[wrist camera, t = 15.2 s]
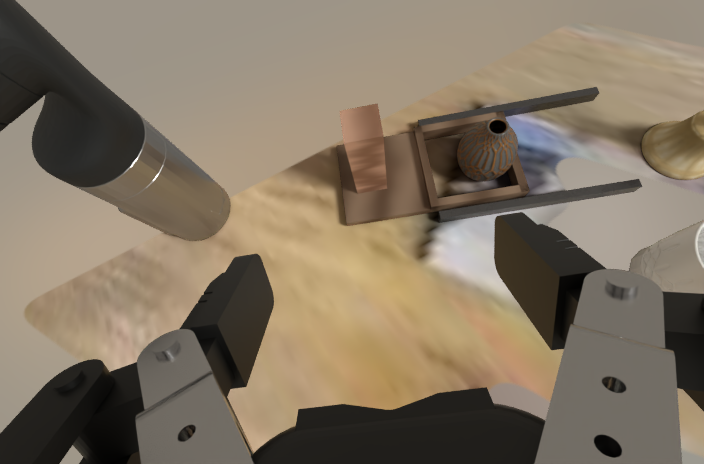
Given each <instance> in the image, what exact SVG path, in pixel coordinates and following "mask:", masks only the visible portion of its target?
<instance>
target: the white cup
mask: <svg viewBox="0 0 704 464" xmlns="http://www.w3.org/2000/svg"><path fill="white" fill-rule="evenodd" d="M629 272H633V273H636V274H639V275H642V276H644V277H646V278H648V279H650V280H652V281H653V282H655V283H656V284H657V285H658V286H659V287H660V288H661V290H662V291H664V292H681V293H699V294H704V220H702V221H700V222H698V223H696V224H693V225H691V226H689V227H687V228H685V229H682V230H680V231H678V232H676V233H674V234H672V235H670V236H668V237H666V238H664V239H662V240H660V241H658V242H656V243H655V244H653V245H651V246H649V247H647V248H644V249H642V250H640V251H639V252H638V253H637V254H636V255H635V256H634V257H633V258H632V259H631V263H630V268H629Z"/></svg>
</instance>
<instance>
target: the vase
mask: <svg viewBox="0 0 704 464" xmlns="http://www.w3.org/2000/svg"><path fill="white" fill-rule="evenodd" d="M517 151H518V140H517V136H516V134H515V132H514V131H513V129H512V128H511V127H510V126H509V124H508V122H507V121H506V120H505V119H503V118H499V117H496V118H492V119H490V120H484V121H481V122H479V123H477V124H475V125H473V126H472V127H471V128H470V129H469V130H468V131H467V132H466V133H465V134H464V135H463V137H462V139H461V140H460V143H459V146H458V151H457V160H458V164H459V167H460V169H461V170H462V172H463V173H464V174H465V175H466V176H468V177H469V178H471V179H473V180H476V181H490V180H493V179H496V178H498V177H500V176H501V175H503V174H504V173H505V172H506V171H507V170H508V169H509V168H510V167H511V165H512V164H513V162H514V160H515V158H516V155H517Z"/></svg>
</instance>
